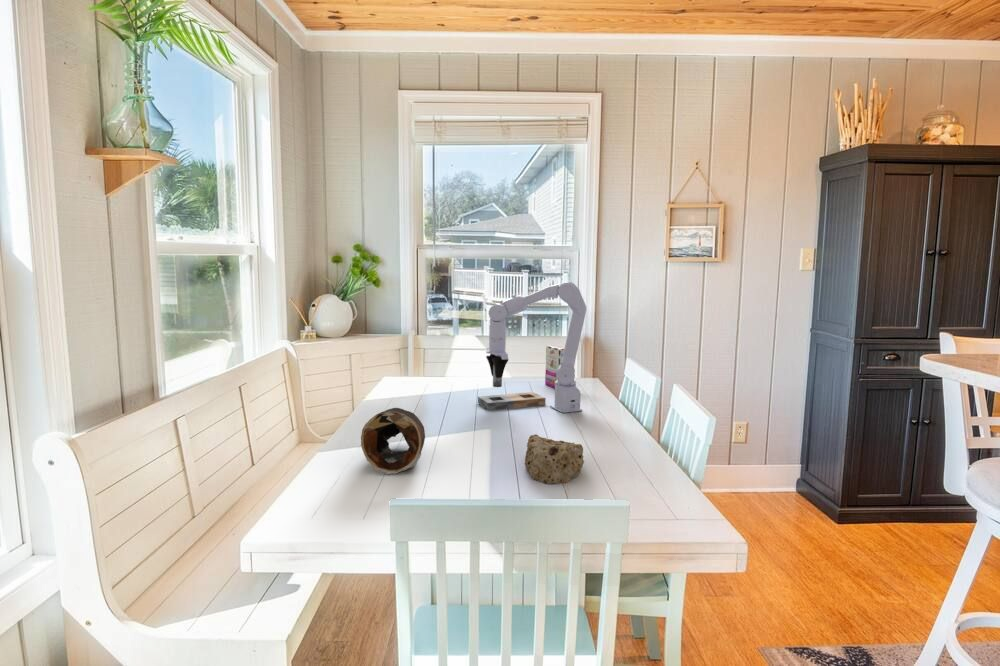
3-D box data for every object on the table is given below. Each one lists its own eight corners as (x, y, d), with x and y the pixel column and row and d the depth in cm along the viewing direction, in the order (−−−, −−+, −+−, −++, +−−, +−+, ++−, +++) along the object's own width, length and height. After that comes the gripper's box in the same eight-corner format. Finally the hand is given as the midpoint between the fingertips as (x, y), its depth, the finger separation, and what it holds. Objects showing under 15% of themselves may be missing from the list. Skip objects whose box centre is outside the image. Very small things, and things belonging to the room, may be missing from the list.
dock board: (545, 404, 213) (545, 398, 213) (488, 410, 204) (488, 403, 204) (533, 398, 222) (533, 392, 222) (477, 403, 214) (477, 396, 213)
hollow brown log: (427, 400, 168) (418, 406, 143) (434, 455, 167) (426, 470, 142) (374, 407, 168) (356, 414, 143) (381, 462, 167) (364, 478, 142)
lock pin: (503, 386, 209) (503, 364, 208) (494, 387, 208) (495, 364, 207) (499, 385, 212) (499, 362, 211) (491, 385, 211) (491, 363, 210)
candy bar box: (569, 389, 239) (570, 348, 237) (558, 390, 237) (559, 349, 235) (555, 383, 249) (556, 344, 247) (544, 384, 247) (545, 345, 245)
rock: (518, 460, 158) (527, 423, 158) (571, 473, 158) (580, 436, 158) (523, 481, 137) (534, 439, 137) (584, 495, 138) (595, 453, 138)
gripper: (479, 336, 213) (478, 373, 215) (494, 341, 200) (494, 381, 202) (497, 335, 216) (497, 372, 218) (513, 340, 203) (513, 380, 204)
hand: (496, 376), depth 210 cm, fingers closed on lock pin, 3 cm apart
